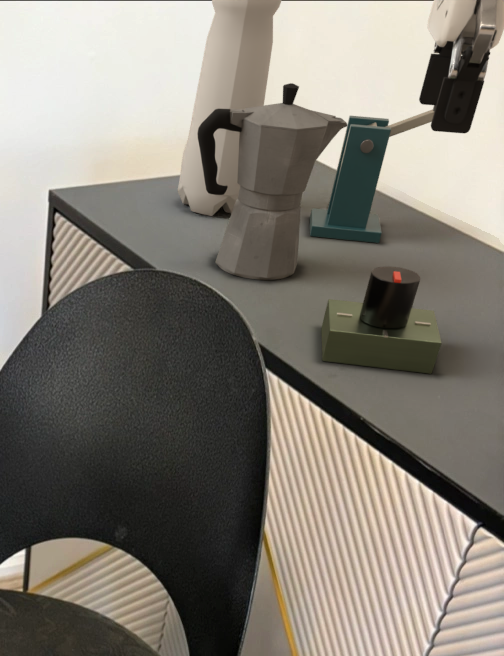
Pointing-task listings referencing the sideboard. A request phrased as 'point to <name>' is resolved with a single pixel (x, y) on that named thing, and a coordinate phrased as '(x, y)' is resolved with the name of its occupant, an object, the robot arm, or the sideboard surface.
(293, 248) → the coffeepot
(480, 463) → the sideboard surface
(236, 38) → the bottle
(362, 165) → the teal lever mount
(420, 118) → the ball knob lever
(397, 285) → the knob
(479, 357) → the sideboard surface
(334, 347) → the panel
